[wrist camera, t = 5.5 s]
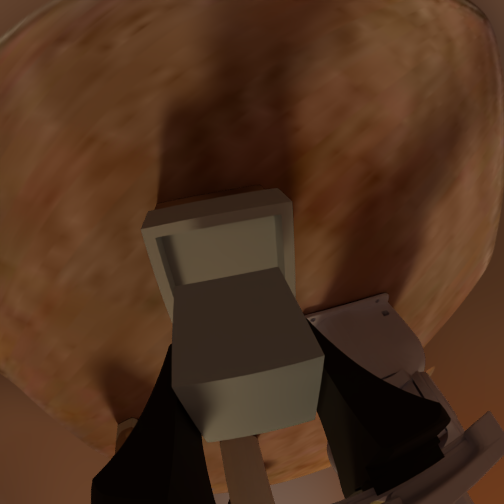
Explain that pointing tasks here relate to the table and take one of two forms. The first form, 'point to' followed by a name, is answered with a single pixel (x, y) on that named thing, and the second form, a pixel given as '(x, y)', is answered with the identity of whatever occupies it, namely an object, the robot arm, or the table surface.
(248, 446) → the paper towel roll
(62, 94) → the table surface
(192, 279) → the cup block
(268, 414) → the grey small block
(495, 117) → the table surface
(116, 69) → the table surface
